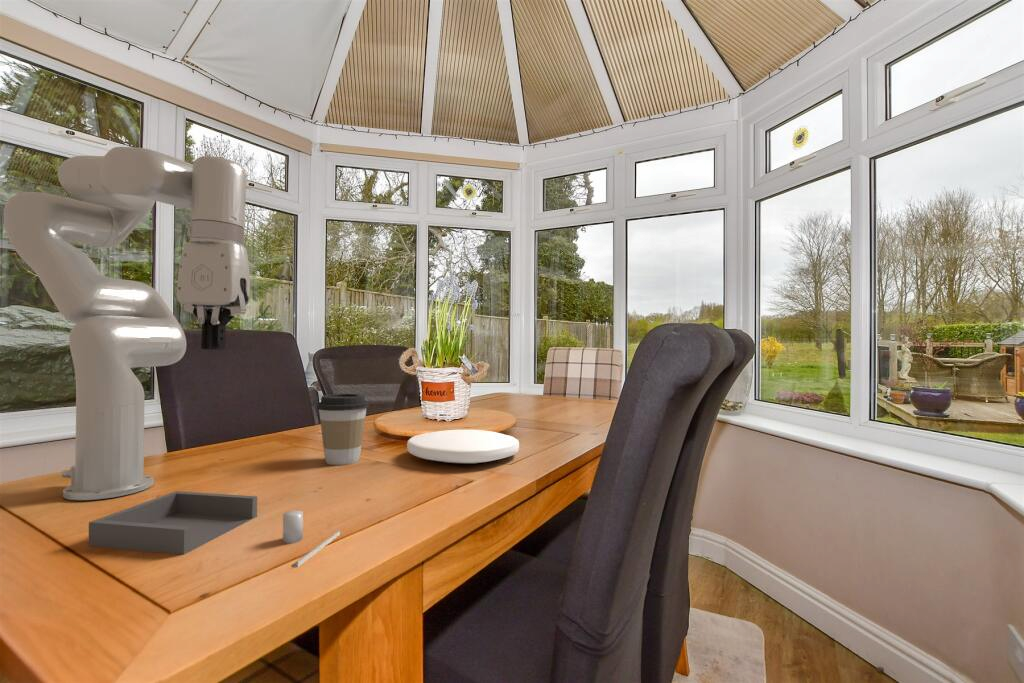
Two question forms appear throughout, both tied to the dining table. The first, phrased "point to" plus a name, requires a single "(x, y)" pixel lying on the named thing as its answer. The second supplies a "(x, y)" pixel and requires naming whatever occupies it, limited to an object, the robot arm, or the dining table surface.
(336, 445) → the coffee cup
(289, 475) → the dining table surface
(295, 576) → the dining table surface
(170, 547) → the dark box
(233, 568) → the dining table surface
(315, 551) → the cover plate
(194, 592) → the dining table surface
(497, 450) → the white round disc
